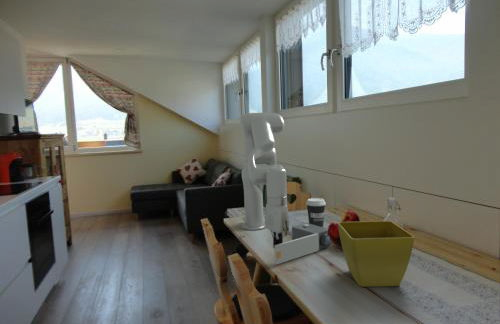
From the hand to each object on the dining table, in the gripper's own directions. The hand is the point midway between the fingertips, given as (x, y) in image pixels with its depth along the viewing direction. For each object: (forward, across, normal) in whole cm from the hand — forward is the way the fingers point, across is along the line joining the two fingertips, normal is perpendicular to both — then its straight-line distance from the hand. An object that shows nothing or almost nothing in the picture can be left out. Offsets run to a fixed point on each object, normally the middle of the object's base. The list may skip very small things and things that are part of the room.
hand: (278, 248), depth 128 cm
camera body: (+5, -7, +23) cm, 24 cm away
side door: (+5, +2, +8) cm, 9 cm away
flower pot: (+5, +30, +17) cm, 35 cm away
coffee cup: (+6, -21, +38) cm, 44 cm away
